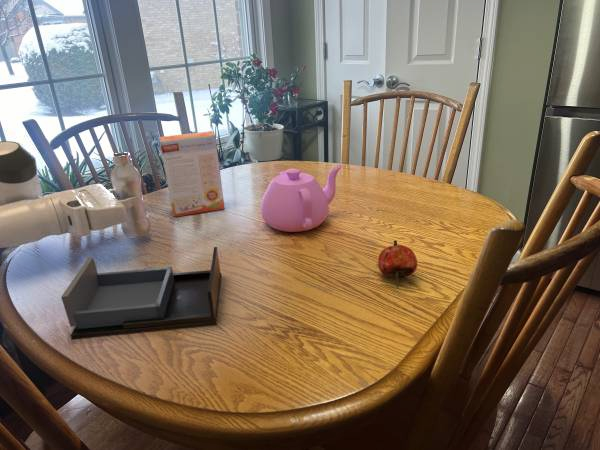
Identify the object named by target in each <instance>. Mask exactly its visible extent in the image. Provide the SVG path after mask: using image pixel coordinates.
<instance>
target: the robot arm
mask: <svg viewBox="0 0 600 450" xmlns="http://www.w3.org/2000/svg"><path fill="white" fill-rule="evenodd" d="M37 166H38V165H37V159H36V155H35V153H34V152H33V150H32V149H30V148H28V147H27V146H25V145H23V144H21V143H19V142H16V141H12V140H11V141H10V140H2V141H0V249H4V248H12V247H18V246H23V245H27V244H30V243H31V244H32V243H34V242H35V243H36V242H39V241H40V240H43V239H44V238H47V237H51V236H60V235H66V234H72V235H76V236H79V237H86V236H90V235H91V234H92V231H93V232H96V231H97V232H98V231H101V230H105V229H108V228H111V227H114V226H117V225H121V223H123V222H124V221H125V220H127V214H126V210H127V209H129V208H130V207H132V206H134V205H138V204H140V199H139V197H138V196H136V195H135V196H130V197H129V198H128V199H125V200H118V199H117V196H116V193H115V190H114V188H110V189H106V187H104V185H102V184H101V183H93V184H89V185H85V186H81V187H78V188H74V189H67V190H61V191H58V192H53V193H48V194H43V190H42V185H41V181H40V177H39V174H38V167H37Z"/></svg>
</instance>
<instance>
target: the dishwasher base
mask: <svg viewBox="0 0 600 450" xmlns="http://www.w3.org/2000/svg"><path fill="white" fill-rule="evenodd" d="M211 258H212V259H211V265H210V269H205V270H195V271H184V272H173V275H174V283H173V287H172V290H171V294H170V297H169V301H168V304H167V308H166V311H165V314H164V318H159V319H148V320H137V321H127V322H124V323H123V325H115V326H105V327H94V328H84V329H78V328H77V326H74V329H73V330H72V332H71V334H70V338H71V340H75V339H76V340H77V339H85V338H97V337H105V336H107V337H108V336H116V335H117V336H118V335H128V334H138V333H146V332H158V331H168V330H179V329H188V328H199V327H210V326H217V325H218V316H219V308H220V307H219V306H220V296H221V286H222V272H221V266H220V260H219V259H220V258H219V251H218V246H214V247H213V251H212V257H211ZM99 287H100V286H99ZM96 292H97V291H96ZM95 294H96V293H95ZM92 299H93V298H92ZM91 301H92V300H91ZM90 303H91V302H90ZM88 306H89V305H88ZM87 308H88V307H87ZM86 310H87V309H86Z"/></svg>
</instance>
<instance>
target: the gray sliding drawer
mask: <svg viewBox="0 0 600 450" xmlns="http://www.w3.org/2000/svg"><path fill="white" fill-rule="evenodd" d="M173 273H174V271H173V267H172V266H167V267H153V268H143V269H142V268H141V269H130V270H119V271H118V270H117V271H105V272H98V269H97V265H96V261H95V258H94V256H93V257H91V256H90V257H87V258H86V260H85V261H84V262H83V265H81V267H80V269H79V270H78V272H77V273H76V274H75V276H74V278H72V280H71V282H70V283H69V284H68V286H67V288H66V289H65V290H64V292H63V294H62V295H61V296H60V298H61V301H62V304H63V308H64V310H65V313H66V317H67V320H68V323H69V326H70V328H72V327H74V328H75V327H76V326H77V328H78V329H84V328H94V327H105V326H115V325H123V323H124V322H127V321H137V320H148V319H159V318H164V314H165V311H166V308H167V304H168V301H169V297H170V294H171V290H172V287H173V283H174V275H173ZM99 286H100V287H99ZM96 291H97V292H96ZM95 293H96V294H95ZM92 298H93V299H92ZM91 300H92V301H91ZM90 302H91V303H90ZM88 305H89V306H88ZM87 307H88V308H87ZM86 309H87V310H86Z"/></svg>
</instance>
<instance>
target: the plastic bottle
mask: <svg viewBox="0 0 600 450" xmlns="http://www.w3.org/2000/svg"><path fill="white" fill-rule="evenodd" d="M111 156H112V163H113V164H114V167H113V169H112V171H111V173H110V178H109V179H110V182H111V185H112V189H114V190H115V193H116V196H117V199H118V200H125V199H128V198H129V197H130V196H135V195H136V196H138V197H139V199H140V204H138V205H134V206H132V207H130V208H129V209H127V210H126V214H127V220H125V221H124V222H123V223H120V228H121V230H122V233H123V234H124V236H126V237H127V238H129V239H137V238H143V237H145V236H147V235H149V234H150V231H151V230H152V229H151V220H150V218H149V215H148V214H147V211H146V207H145V204H144V199H143V191H142V176H141V173H140V171H139V170H138V169H137V168H136V167H135V166H134V165H133V164H132V158H131V153H130V152H127V151H123V152H116V153H113V154H112V155H111Z"/></svg>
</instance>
